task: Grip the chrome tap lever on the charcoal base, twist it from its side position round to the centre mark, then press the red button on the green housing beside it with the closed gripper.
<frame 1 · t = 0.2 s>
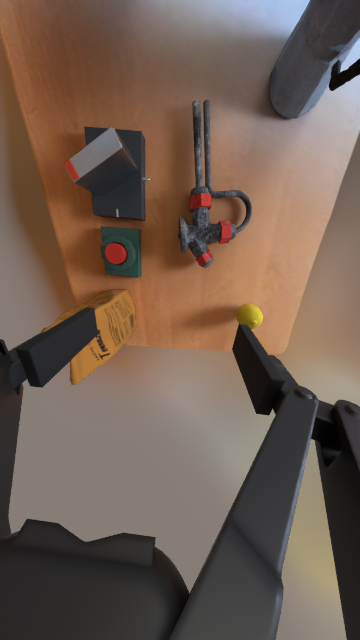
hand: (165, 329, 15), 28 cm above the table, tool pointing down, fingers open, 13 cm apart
coffee package: (120, 310, 46), on the table
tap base: (120, 181, 33), on the table
lemon: (243, 309, 43), on the table
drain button: (116, 253, 35), point 4 cm above the table, slide at 0.1 cm
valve: (213, 198, 34), on the table
tap lever: (104, 167, 27), point 7 cm above the table, hinge at -60.0°
moka pot: (297, 85, 27), on the table
drain button box: (124, 252, 39), on the table
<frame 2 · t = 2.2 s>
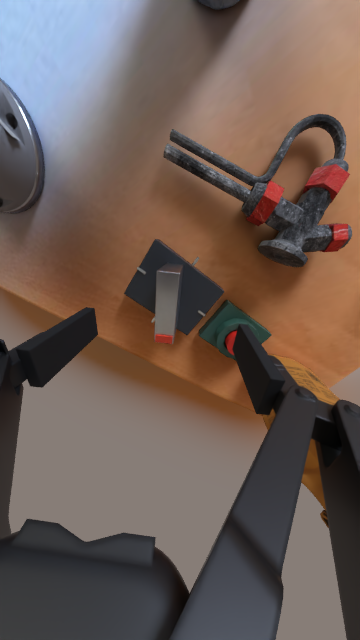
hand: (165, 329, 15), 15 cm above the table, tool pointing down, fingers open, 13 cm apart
coffee package: (278, 374, 35), on the table
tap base: (174, 288, 29), on the table
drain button: (238, 343, 28), point 4 cm above the table, slide at 0.1 cm
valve: (263, 183, 22), on the table
tap lever: (169, 300, 23), point 7 cm above the table, hinge at -60.0°
drain button box: (232, 330, 32), on the table
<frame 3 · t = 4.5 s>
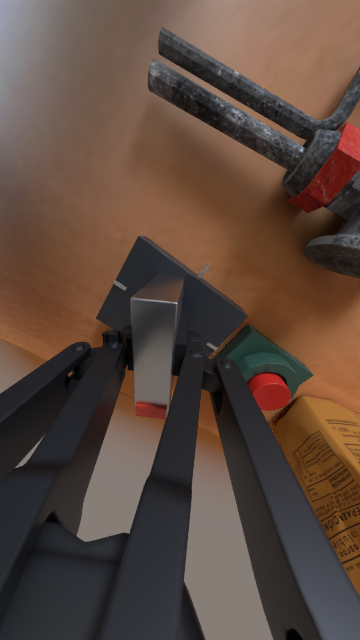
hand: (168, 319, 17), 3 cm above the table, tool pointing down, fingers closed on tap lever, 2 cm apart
coffee package: (313, 418, 26), on the table
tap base: (171, 309, 20), on the table
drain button: (267, 391, 18), point 4 cm above the table, slide at 0.1 cm
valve: (318, 139, 13), on the table
tap lever: (162, 337, 14), point 7 cm above the table, hinge at -60.0°, touching gripper
drain button box: (254, 364, 22), on the table
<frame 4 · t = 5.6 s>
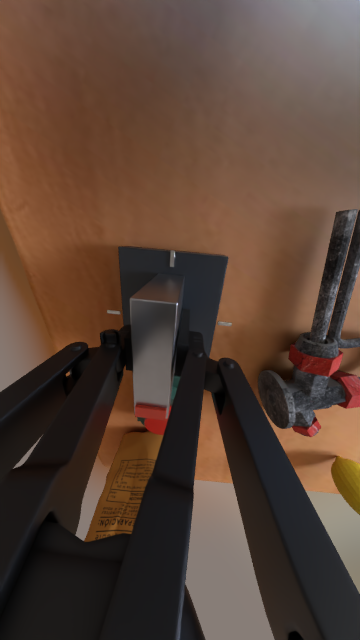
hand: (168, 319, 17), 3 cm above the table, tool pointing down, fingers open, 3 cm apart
coffee package: (152, 445, 32), on the table
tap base: (171, 309, 20), on the table
lemon: (336, 455, 29), on the table
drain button: (161, 418, 21), point 4 cm above the table, slide at 0.1 cm
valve: (326, 336, 20), on the table
tap lever: (162, 337, 14), point 7 cm above the table, hinge at -0.2°
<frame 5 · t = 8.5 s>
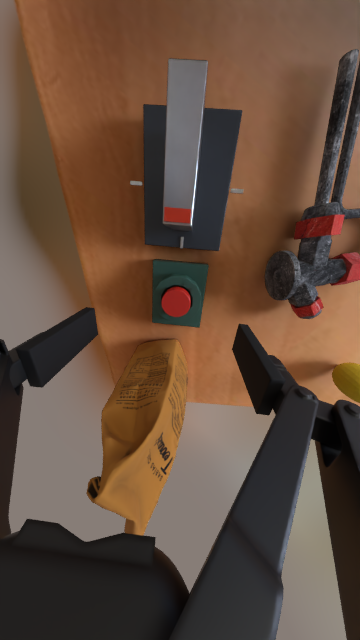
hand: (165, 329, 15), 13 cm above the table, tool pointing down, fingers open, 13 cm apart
coffee package: (163, 362, 34), on the table
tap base: (186, 193, 22), on the table
lemon: (337, 365, 31), on the table
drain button: (176, 301, 23), point 4 cm above the table, slide at 0.1 cm
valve: (329, 218, 22), on the table
tap lever: (184, 174, 16), point 7 cm above the table, hinge at -0.2°
drain button box: (179, 292, 28), on the table
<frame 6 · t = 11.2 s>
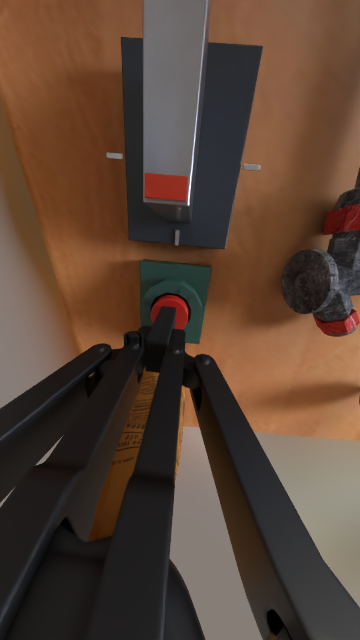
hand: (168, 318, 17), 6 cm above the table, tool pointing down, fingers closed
coffee package: (156, 381, 29), on the table
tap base: (183, 173, 17), on the table
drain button: (170, 314, 18), point 4 cm above the table, slide at 0.0 cm, touching gripper
tap lever: (178, 132, 11), point 7 cm above the table, hinge at -0.2°
drain button box: (174, 301, 22), on the table
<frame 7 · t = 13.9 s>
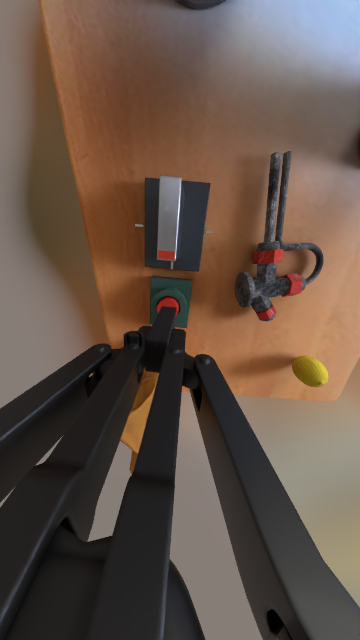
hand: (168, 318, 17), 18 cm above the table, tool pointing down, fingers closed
coffee package: (159, 357, 42), on the table
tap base: (175, 230, 30), on the table
lemon: (297, 358, 39), on the table
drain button: (168, 308, 31), point 4 cm above the table, slide at 0.1 cm
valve: (278, 249, 30), on the table
tap lever: (171, 225, 24), point 7 cm above the table, hinge at -0.2°
drain button box: (170, 301, 36), on the table
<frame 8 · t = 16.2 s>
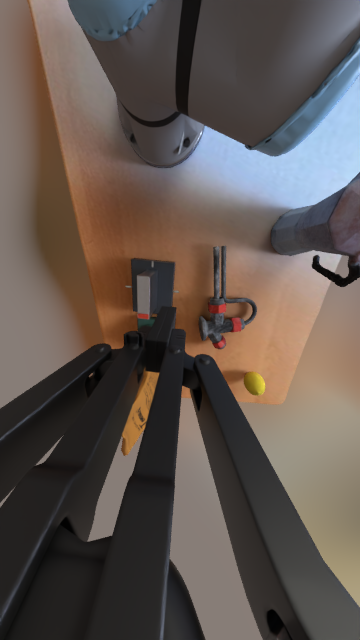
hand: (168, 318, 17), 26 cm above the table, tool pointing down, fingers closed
coffee package: (146, 370, 55), on the table
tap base: (154, 286, 43), on the table
lemon: (249, 372, 53), on the table
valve: (226, 299, 43), on the table
tap lever: (148, 293, 37), point 7 cm above the table, hinge at -0.2°
moka pot: (291, 235, 36), on the table
drain button box: (153, 332, 49), on the table
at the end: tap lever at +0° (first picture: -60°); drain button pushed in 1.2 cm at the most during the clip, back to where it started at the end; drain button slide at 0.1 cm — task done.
